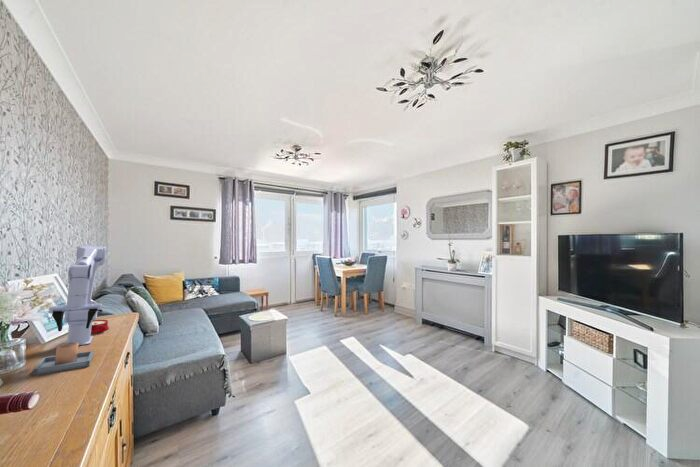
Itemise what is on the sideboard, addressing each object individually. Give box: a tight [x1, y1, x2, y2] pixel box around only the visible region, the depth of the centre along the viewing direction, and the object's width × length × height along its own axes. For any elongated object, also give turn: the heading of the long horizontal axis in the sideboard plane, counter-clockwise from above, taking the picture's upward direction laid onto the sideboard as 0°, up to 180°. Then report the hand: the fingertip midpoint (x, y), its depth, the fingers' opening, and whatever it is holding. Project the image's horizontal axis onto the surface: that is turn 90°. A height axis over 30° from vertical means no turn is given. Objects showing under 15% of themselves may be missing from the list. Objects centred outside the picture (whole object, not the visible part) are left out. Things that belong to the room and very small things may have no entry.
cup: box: [55, 342, 80, 365], centre depth 98 cm, size 6×6×7 cm
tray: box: [32, 350, 95, 376], centre depth 98 cm, size 11×14×2 cm
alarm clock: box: [91, 319, 109, 335], centre depth 131 cm, size 10×6×15 cm
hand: (74, 329), depth 105 cm, fingers open, 7 cm apart
